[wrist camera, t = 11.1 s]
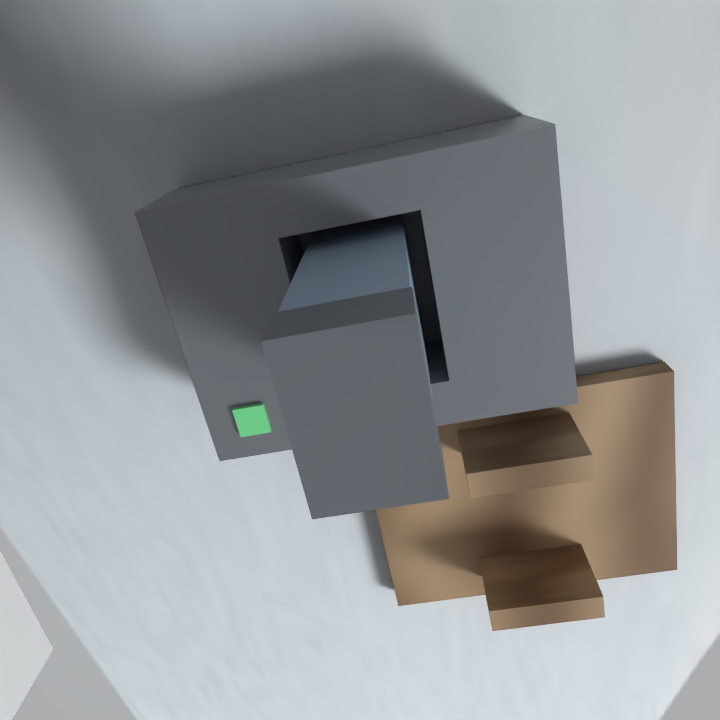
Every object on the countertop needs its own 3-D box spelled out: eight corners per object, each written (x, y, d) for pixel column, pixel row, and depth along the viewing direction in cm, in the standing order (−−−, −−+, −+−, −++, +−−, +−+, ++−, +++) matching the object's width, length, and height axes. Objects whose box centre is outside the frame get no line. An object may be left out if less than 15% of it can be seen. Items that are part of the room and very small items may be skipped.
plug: (402, 210, 26) (415, 313, 15) (423, 329, 28) (449, 498, 17) (313, 227, 26) (261, 341, 15) (340, 343, 28) (312, 519, 17)
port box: (523, 114, 25) (556, 124, 20) (547, 350, 29) (579, 405, 24) (177, 188, 27) (132, 213, 22) (244, 402, 30) (218, 463, 26)
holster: (664, 361, 29) (711, 409, 25) (669, 555, 33) (709, 624, 29) (355, 413, 30) (351, 466, 26) (398, 592, 35) (399, 661, 31)
